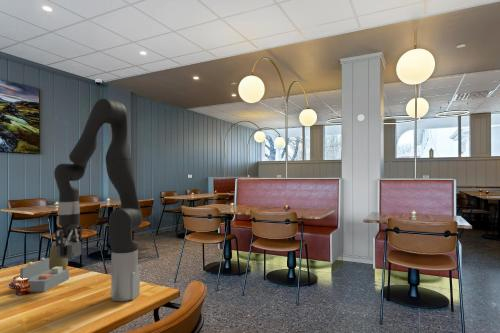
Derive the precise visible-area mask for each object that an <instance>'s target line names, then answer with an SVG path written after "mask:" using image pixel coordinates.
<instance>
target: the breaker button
mask: <svg viewBox="0 0 500 333" xmlns="http://www.w3.org/2000/svg"><path fill="white" fill-rule="evenodd" d="M50 277H52V274H43V275H40V276H39V279H48V278H50Z"/></svg>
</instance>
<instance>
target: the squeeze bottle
mask: <svg viewBox="0 0 500 333" xmlns="http://www.w3.org/2000/svg"><path fill="white" fill-rule="evenodd" d="M59 243H60V240H59ZM56 253H57V246H56V242H55V241H52V247H50V250H49V257H48V258H49V270H51V268H54V267H63V270H67V268H68V265H69V261H68V259H69V258H56Z"/></svg>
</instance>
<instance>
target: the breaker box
mask: <svg viewBox="0 0 500 333" xmlns="http://www.w3.org/2000/svg"><path fill="white" fill-rule="evenodd" d="M19 271H20V273H19V277H20V278H22V279H23V278H30V279H29V280H28V281H27V282H28V283H29V285H30V291H29V292H37V293H39V292H40V293H42V292H43V293H44V292H46V291H49V290H51V289H52V288H54V287H56V286H58V285H60V284H62V283H65V282H66V281H68V280H69V277H70V276H69V275H70V274H69V273H70V269H66V270H63V267H54V268H51V270H49V257H48V258H46V257H40V260H39V261H36V262H34V263H33V262H32V261H29V262H28V263H27V265H25V266H23V267H20V270H19ZM43 274H52V277H50V278H48V279H39V276H40V275H43ZM20 278H19V279H20Z"/></svg>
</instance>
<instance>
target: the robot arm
mask: <svg viewBox="0 0 500 333" xmlns="http://www.w3.org/2000/svg"><path fill="white" fill-rule="evenodd" d="M127 112H128V111H127V108H126V106H125V104H123V103H122V102H120V101H116V100H112V99H109V98H103V97H102V98H100V99H98V100H97V101H96V102H95V103H94V105H93V106H92V108H91V111H90V114H89V115H88V118H87V121H86V123H85V126H84V128H83V131H82V133H81V135H80V138H79V139H78V141H77V143H76V144H75V145H74V147H73V148H72V150H71V152H70V153H69V156H68V158H69V160H70V161H71V162H72V163H59V164H57V166H55V169H54V173H53V175H54V180H55V183H56V185H57V189H58V193H59V195H58V196H59V197H58V199H59V200H58V202H59V203H58V209H57V210H58V214H57V215H58V217H57V218H58V224H57V225H58V226H60V229H59V230H55V231H54V234H55V235H54V236H55V237H54V240H55V241H54V242H56V246H59V247H60V256H61V257H64V256H66V255H67V247H66V246H67V243H68V242H80V241H81V240H82V235H83V226H82V225H79V224H80V222H81V217H80V216H81V213H80V212H81V211H80V210H81V209H80V208H81V207H80V189H79V188H78V187H76V186H73V185H71V182H77V181H79V180H81V179H82V178H83V177H84V175H85V174H86V173H85V172H86V168H87V164H88V162H89V161H90V159H91V158H92V157H93V155H94V153H95V151H96V150H97V145H98V144H97V143H98V133H99V131H100V129H101V127H102V126H103V125H104V124H109V125H110V129H111V141H110V144H109V146H108V149H107V151H106V154H105V167H106V172H107V177H108V179H109V181H110V182H111V184H112V186H113V187H114V188H115V191H116V192H117V193H118V196H119V200H120V208H116V209H114V210H112V212H111V213H110V214H109V217H108V218H109V219H108V239H109V240H108V243H109V245H110V247H111V255H110V256H111V257H110V259H111V263H110V264H111V271H110V274H111V276H110V300H111V301H113V302H127V301H134V300H135V299H136V297H138V296H139V295H140V293H141V288H140V287H141V286H140V285H141V284H140V282H141V279H140V278H141V276H140V275H141V269H139V262H138V261H139V259H138V258H139V242H137V240H133V238H132V231H136V230H138V229H140V227H141V225H142V222H143V213H142V210H141V205H140V202H139V197H138V194H137V190H136V189H137V188H136V181H135V177H134V168H133V160H132V155H131V148H130V147H131V146H130V142H129V140H130V139H129V128H128V127H129V124H128V113H127ZM59 240H60V243H59Z"/></svg>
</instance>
